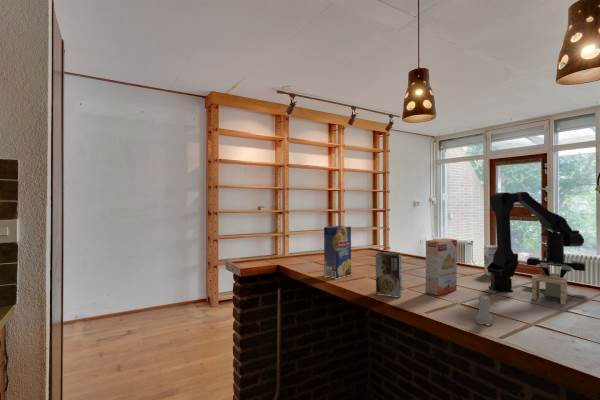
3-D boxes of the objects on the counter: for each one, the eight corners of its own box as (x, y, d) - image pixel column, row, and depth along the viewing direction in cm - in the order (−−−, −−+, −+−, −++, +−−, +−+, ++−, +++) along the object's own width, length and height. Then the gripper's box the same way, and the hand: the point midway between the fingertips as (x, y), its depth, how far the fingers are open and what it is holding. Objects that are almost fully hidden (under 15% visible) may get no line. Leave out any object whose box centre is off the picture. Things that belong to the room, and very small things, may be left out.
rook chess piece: (472, 320, 97) (472, 294, 97) (486, 319, 98) (486, 293, 98) (482, 326, 93) (481, 298, 93) (496, 325, 93) (496, 298, 93)
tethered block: (562, 297, 119) (562, 281, 119) (545, 295, 123) (545, 279, 123) (562, 288, 132) (562, 274, 132) (547, 286, 135) (547, 272, 135)
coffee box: (402, 293, 126) (401, 252, 126) (399, 298, 120) (399, 255, 120) (378, 291, 129) (378, 251, 130) (375, 295, 124) (375, 253, 124)
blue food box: (336, 279, 149) (336, 228, 149) (324, 277, 154) (323, 227, 154) (351, 275, 157) (350, 226, 158) (338, 273, 163) (338, 225, 163)
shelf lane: (565, 304, 112) (564, 281, 112) (532, 299, 118) (532, 277, 118) (567, 298, 118) (566, 277, 118) (535, 293, 125) (535, 273, 125)
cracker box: (439, 296, 122) (438, 241, 122) (424, 293, 127) (424, 240, 127) (458, 290, 130) (457, 239, 130) (443, 287, 135) (443, 237, 135)
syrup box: (501, 277, 152) (501, 246, 152) (488, 276, 153) (487, 246, 153) (496, 274, 157) (496, 245, 158) (483, 274, 159) (483, 244, 159)
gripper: (585, 247, 132) (586, 284, 132) (530, 243, 145) (530, 277, 145) (584, 249, 124) (585, 290, 124) (526, 245, 137) (526, 282, 137)
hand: (555, 284), depth 133 cm, fingers closed on tethered block, 3 cm apart
